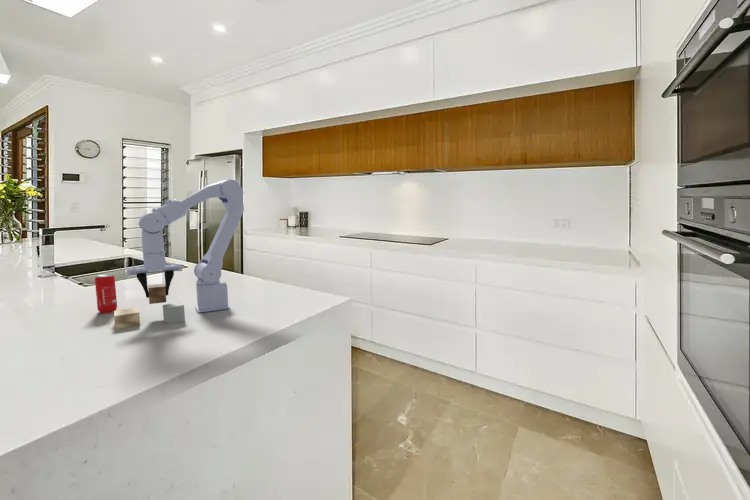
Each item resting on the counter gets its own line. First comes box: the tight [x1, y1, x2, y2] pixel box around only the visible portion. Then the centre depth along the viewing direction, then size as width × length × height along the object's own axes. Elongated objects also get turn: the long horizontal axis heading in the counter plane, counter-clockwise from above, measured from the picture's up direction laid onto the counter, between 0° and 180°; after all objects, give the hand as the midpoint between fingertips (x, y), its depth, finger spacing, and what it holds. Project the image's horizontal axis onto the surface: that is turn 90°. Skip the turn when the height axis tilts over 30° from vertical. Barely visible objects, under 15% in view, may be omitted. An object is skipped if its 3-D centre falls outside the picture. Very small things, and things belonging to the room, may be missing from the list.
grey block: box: [162, 302, 186, 325], centre depth 113 cm, size 4×4×5 cm
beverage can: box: [94, 273, 118, 314], centre depth 122 cm, size 5×5×12 cm
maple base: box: [113, 307, 141, 330], centre depth 110 cm, size 6×6×4 cm
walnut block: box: [147, 283, 167, 305], centre depth 116 cm, size 4×4×5 cm
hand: (157, 295), depth 116 cm, fingers closed on walnut block, 4 cm apart
